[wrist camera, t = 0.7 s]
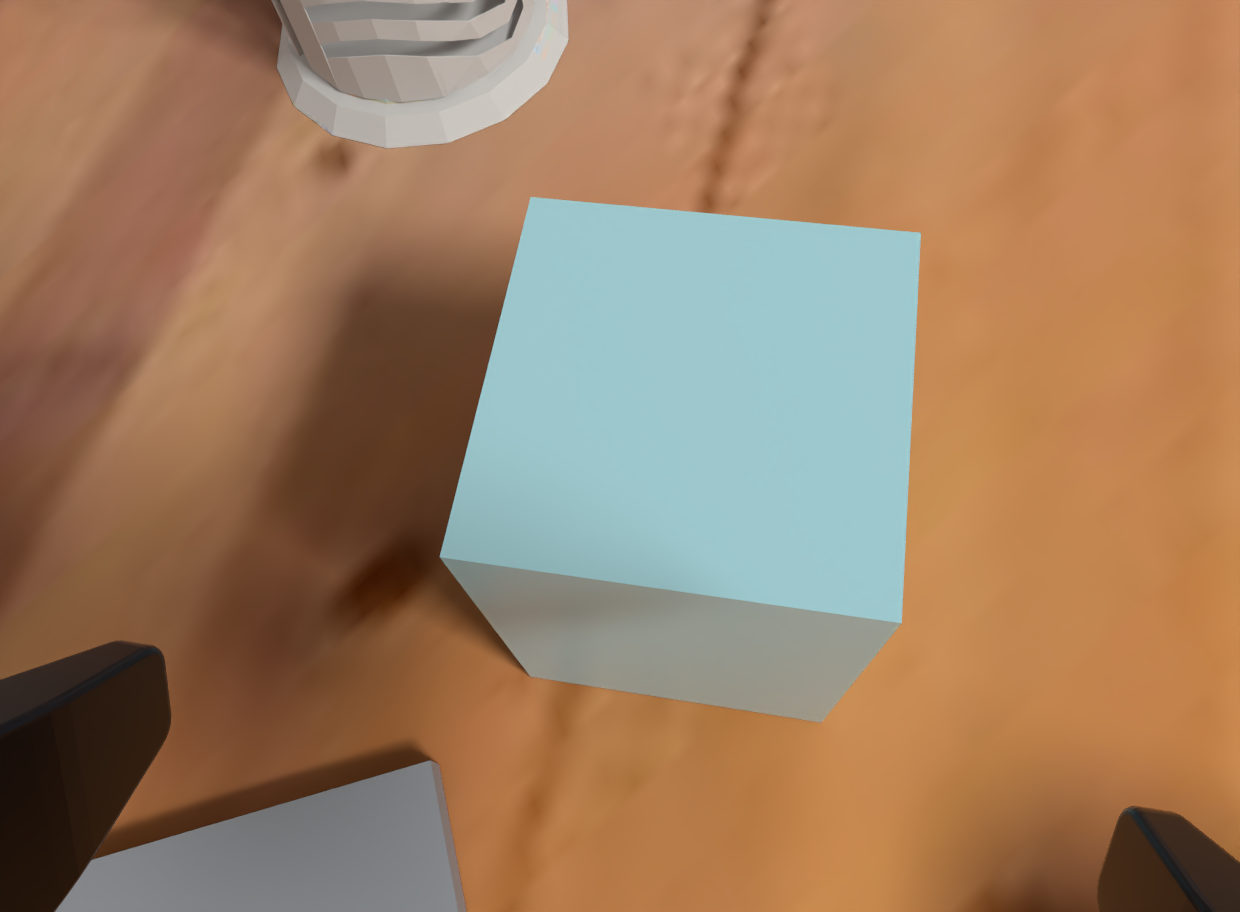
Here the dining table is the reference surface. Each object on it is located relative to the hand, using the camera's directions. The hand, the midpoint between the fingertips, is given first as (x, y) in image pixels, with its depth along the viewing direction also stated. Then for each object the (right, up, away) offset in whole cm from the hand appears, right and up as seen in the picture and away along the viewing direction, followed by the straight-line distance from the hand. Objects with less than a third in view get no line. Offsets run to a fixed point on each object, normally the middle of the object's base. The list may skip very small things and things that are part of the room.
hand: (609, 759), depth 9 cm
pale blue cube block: (+2, 0, +15) cm, 15 cm away
